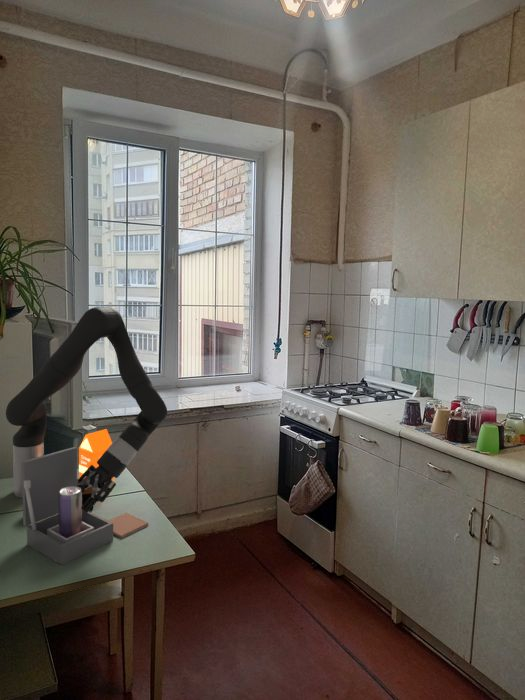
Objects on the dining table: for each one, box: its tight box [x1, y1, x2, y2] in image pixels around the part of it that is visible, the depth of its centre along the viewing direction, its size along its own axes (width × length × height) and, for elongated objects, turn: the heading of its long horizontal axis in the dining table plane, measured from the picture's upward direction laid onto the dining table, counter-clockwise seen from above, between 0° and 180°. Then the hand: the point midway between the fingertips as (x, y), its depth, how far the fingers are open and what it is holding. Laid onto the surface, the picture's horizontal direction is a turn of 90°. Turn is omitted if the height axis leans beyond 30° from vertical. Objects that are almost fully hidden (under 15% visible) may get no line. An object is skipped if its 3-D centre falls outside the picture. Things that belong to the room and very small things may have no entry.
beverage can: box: [58, 486, 82, 538], centre depth 138 cm, size 6×6×15 cm
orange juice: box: [78, 428, 115, 483], centre depth 174 cm, size 8×9×20 cm
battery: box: [77, 477, 94, 511], centre depth 158 cm, size 4×7×10 cm, turn 111°
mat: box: [107, 512, 149, 539], centre depth 149 cm, size 10×10×1 cm
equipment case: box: [22, 446, 114, 566], centre depth 138 cm, size 18×16×23 cm
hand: (78, 505), depth 139 cm, fingers open, 8 cm apart
